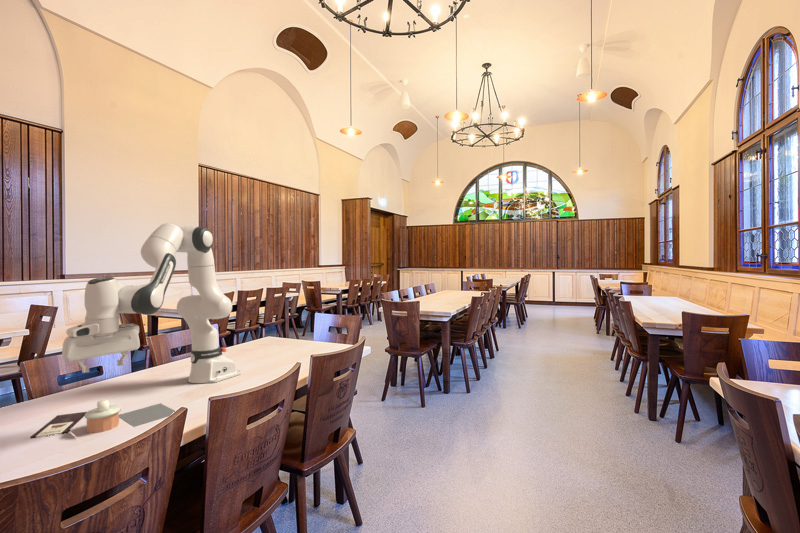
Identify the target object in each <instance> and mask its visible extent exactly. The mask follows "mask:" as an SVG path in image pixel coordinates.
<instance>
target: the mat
mask: <svg viewBox="0 0 800 533" xmlns="http://www.w3.org/2000/svg"><path fill="white" fill-rule="evenodd" d="M175 411H176V410H175V409H172V408H171V407H169V406H167V405H164V404H162V403H157V404H153V405H150V406H146V407H142V408H139V409H135V410H131V411H126V412H124V413H119V419H121V420H122V421H124V422H125V423H127V424H128V425H130V426H132V427H133V428H136V427H138V426H141V425H144V424H148V423H152V422H155V421H158V420H162V419H165V418H169V417H171V416H170V415H171V414H172V413H173V412H175Z"/></svg>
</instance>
